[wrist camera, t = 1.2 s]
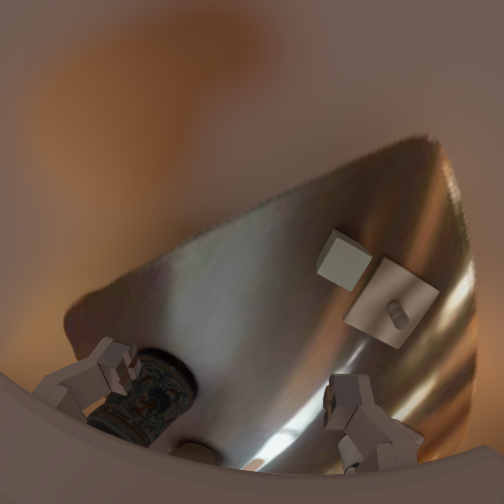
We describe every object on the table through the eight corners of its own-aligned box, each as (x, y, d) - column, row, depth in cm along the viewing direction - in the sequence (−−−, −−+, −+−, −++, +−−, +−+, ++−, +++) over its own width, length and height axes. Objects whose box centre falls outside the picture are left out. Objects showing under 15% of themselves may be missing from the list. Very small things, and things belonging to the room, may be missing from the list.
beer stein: (213, 385, 52) (162, 480, 28) (171, 416, 58) (125, 488, 35) (150, 333, 52) (72, 411, 28) (120, 373, 58) (60, 437, 35)
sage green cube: (364, 246, 39) (372, 257, 33) (346, 276, 41) (351, 291, 35) (333, 228, 39) (337, 237, 34) (316, 260, 41) (316, 273, 35)
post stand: (437, 289, 38) (454, 307, 31) (396, 345, 42) (406, 370, 35) (383, 255, 39) (395, 270, 32) (342, 318, 42) (346, 342, 36)
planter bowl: (231, 470, 61) (221, 498, 51) (181, 459, 65) (167, 484, 54) (222, 441, 57) (209, 473, 47) (166, 429, 61) (148, 456, 51)
